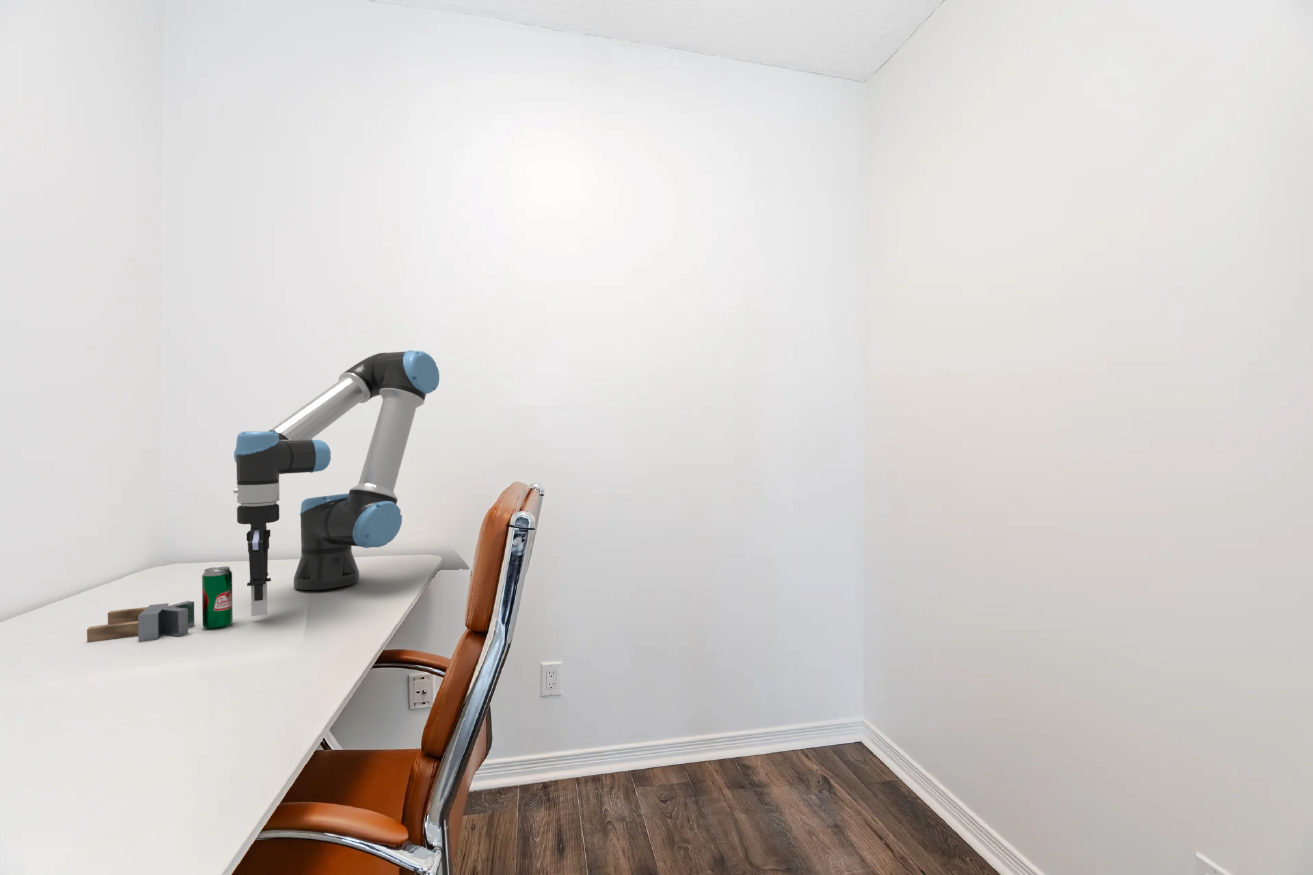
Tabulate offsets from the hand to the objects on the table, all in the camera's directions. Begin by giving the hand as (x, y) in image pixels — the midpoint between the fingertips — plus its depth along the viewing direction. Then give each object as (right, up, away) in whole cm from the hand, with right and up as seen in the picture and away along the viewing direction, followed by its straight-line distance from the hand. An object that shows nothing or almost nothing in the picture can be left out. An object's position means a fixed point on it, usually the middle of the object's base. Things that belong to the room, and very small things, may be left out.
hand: (259, 614), depth 129 cm
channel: (-24, -2, -5) cm, 25 cm away
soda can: (-6, -2, -3) cm, 7 cm away
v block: (-14, -2, -7) cm, 16 cm away
